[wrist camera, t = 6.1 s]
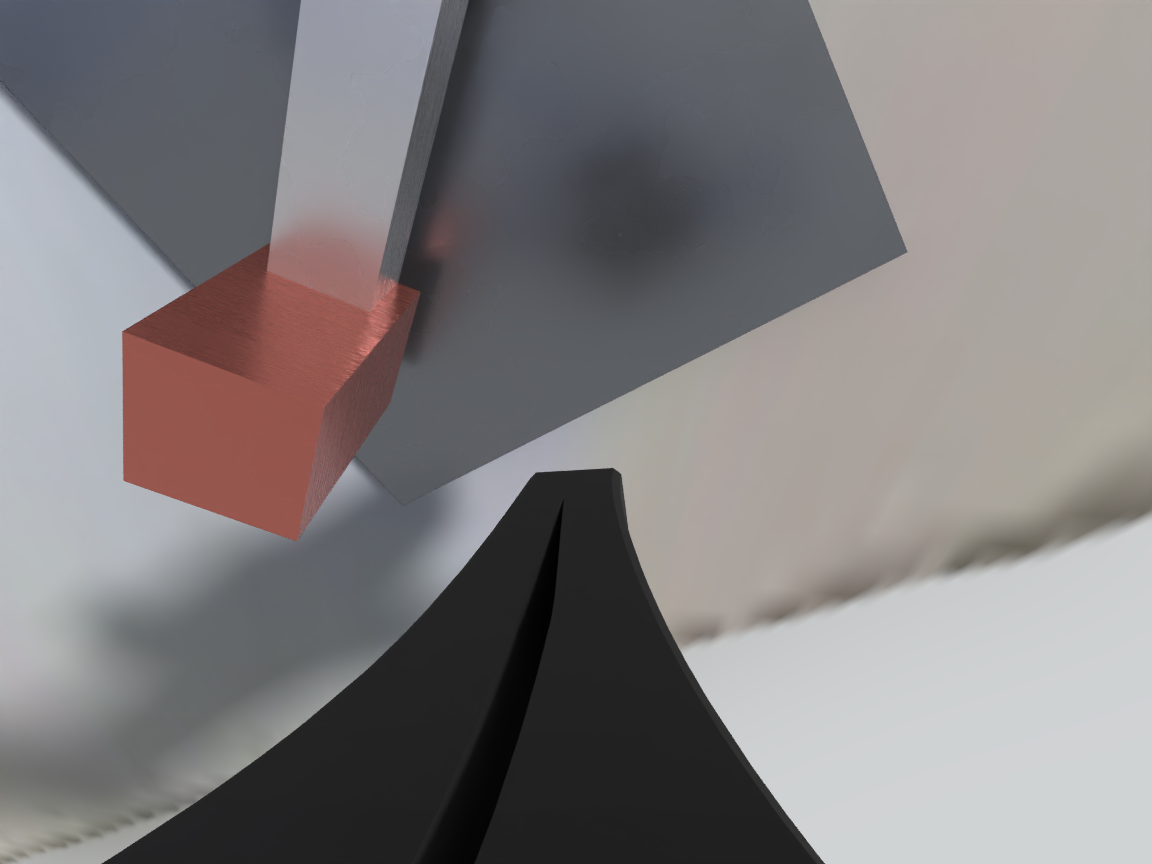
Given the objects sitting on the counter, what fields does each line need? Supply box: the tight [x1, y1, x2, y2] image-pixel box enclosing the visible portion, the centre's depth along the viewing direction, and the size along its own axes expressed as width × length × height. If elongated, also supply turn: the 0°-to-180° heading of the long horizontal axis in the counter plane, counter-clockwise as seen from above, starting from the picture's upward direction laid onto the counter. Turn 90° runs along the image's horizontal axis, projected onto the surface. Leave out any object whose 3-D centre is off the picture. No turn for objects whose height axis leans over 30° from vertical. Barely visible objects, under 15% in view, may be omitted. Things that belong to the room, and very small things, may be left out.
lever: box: [122, 0, 469, 541], centre depth 10 cm, size 12×3×5 cm, turn 158°
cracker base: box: [0, 0, 907, 505], centre depth 11 cm, size 14×14×7 cm
